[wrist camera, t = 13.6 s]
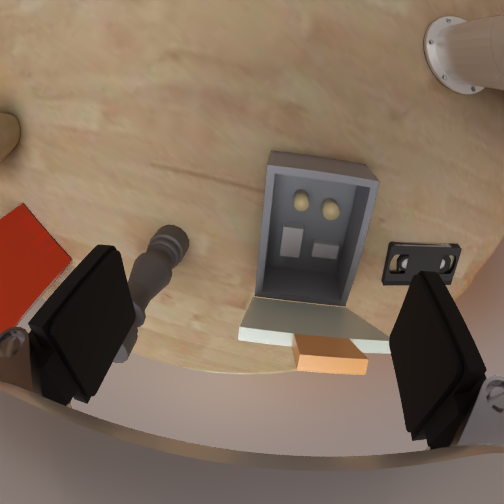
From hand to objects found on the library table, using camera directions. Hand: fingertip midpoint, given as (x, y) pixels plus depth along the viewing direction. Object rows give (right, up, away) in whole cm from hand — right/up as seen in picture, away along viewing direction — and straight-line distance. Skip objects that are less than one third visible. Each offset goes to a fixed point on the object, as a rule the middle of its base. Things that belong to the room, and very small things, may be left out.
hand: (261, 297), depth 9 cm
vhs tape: (+30, 0, +40) cm, 50 cm away
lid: (+6, -6, +24) cm, 25 cm away
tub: (+9, +7, +38) cm, 40 cm away
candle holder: (-14, +3, +44) cm, 46 cm away
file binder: (-47, +4, +48) cm, 67 cm away
